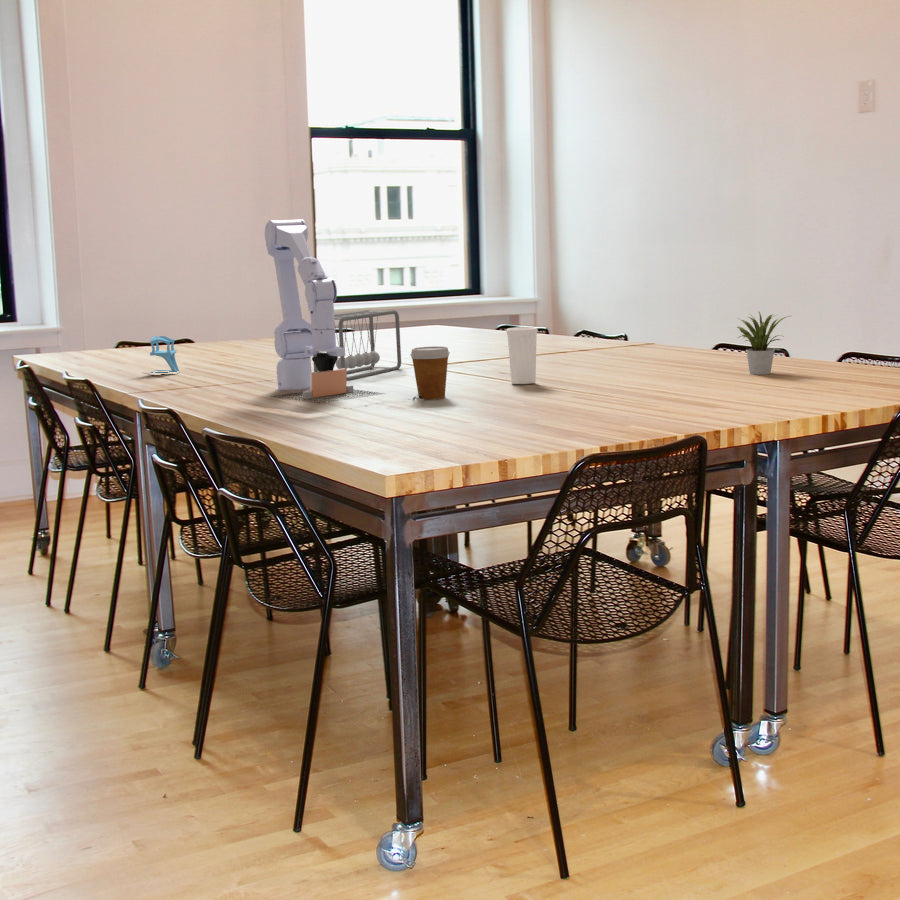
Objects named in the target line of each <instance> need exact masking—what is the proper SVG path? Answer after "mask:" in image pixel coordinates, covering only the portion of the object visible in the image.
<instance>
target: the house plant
mask: <svg viewBox="0 0 900 900" xmlns="http://www.w3.org/2000/svg"><path fill="white" fill-rule="evenodd" d="M758 314H759V322H758V321H757V320H756V318H755V317H754V316H753V315H752V314H750V313H749V315H750V316H751V317H750V316H748V318H749V319H750V321H751V323H753V325H752V324H751V323H750V322H748V321H747V320H744V319H740V318H736V319H738V320H740V321H742V322H743V324H744V325H745V326H746V327H747V328H748V330H749V331H750V332H749V331H748V330H747V329H745V328H744V327H741V326H736V328H737V329H739V331H740V333H742V334H741V335H740V336H738V337H737V339H739V338H741V337H744V338H746V339H745V340H744V342H749V343H750V345H751V348H747V349H745V352H746V358H747V364H748V372H749V375H753V376H754V375H756V376H763V375H765V376H766V375H770V374H771V371H772V366H773V363H774V362H773V361H774V356H775V348H772V347H771V348H769V347H768V346H769V345H770V343H772V342H774V341H783V340H782V339H780V338H779V339H778V338H776V337H779V336H780V337H784V338H785V336H784V335H782V334H781V335H779V334H778V335H775V336H773V337H771V334H772V332H773V331H774V329H775V328H776V326H777V325H778V324H779V323H780V322H781V321H783V320H784V319H785V318H789V317H791V315H787V316H784V317H782V318H780V317H778V318H776V319H775V320H774V321H772V323H771V325H770V327H769V329H768V326H769V324H770V322H771V320H772V318H774V317H775V316H777V314H775V315H774V314H770V315H768V316H767V317H766V319H765V321H763V320H762V314H761V312H760V311H758ZM753 326H754V327H753ZM767 329H768V331H767ZM770 338H771V339H770ZM747 339H748V340H747ZM769 339H770V340H769ZM768 341H769V342H768Z"/></svg>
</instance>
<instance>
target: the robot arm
mask: <svg viewBox="0 0 900 900" xmlns="http://www.w3.org/2000/svg"><path fill="white" fill-rule="evenodd" d="M308 237H309V229H308V224H307V223H306V221H305V220H304V219H303V218H300V219H283V220H282V219H281V220H273V219H269V220H268V221H267V222H266V224H265V229H264V240H265V245H266V246H265V247H266V250H267V254H268V255H269V256H271V257H273V261H274V262H273V263H274V266H275V272H276V281H277V285H278V292H279V293H278V294H279V299H280V306H281V313H282V319H283V320H282V321H281V322H280V323H279V324H278V325H277V326H276V328H275V329H274V333H273V334H274V348H275V349H274V350H275V352H276V354H277V355H278V357H280V359H279V360H278V362H277V364H276V375H277V376H276V377H277V379H276V380H277V388H275V389H274V391H275V392H276V391H284V390H290V391H291V390H305V389H310V377H311V373H312V362H314V363H315V365H316V367H317V369H318V372H320V371H328V370H334V369H335V367H336V361H337V359H338V358H340V356H344V357H346V347H345V348H341V347H340V346H338V345H337V342H336V339H337V336H336V329H335V326H336V322H335V320H334V315H335V308H334V303H335V302H336V300H337V296H338V288H337V285H336V282H335V280H334V279H333V278H331V277H330V276H329V275H328V276H327V275H326V273H325V271H324V268H323V267H322V264H321V263H320V261H319V260H318V259H317V258H316V257H313V256H312V253H311V250H310V248H309V245H308ZM294 259H295V260H296V261H297V263H298V264H297V267H296V266H295V261H294ZM295 269H297V272H298V274H299V276H300V279H301V281H302V282H303V284H304V287H305V288H304V296H305V300H306V303H307V310H308V311H309V312H310V313H309V314H310V323H309V322H308V321H307V320H306V319H304V318H303V313H302V308H301V301H300V295H299V288H298V282H297V274H296V270H295ZM313 354H317V356H316V357H313ZM314 363H313V364H314Z"/></svg>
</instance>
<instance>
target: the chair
mask: <svg viewBox="0 0 900 900" xmlns="http://www.w3.org/2000/svg"><path fill="white" fill-rule="evenodd" d="M175 341H176V340H175V339H173V338H169V337H167V336H164V335H162V336H156V335H154V336H152V337H150V340H149V343H150V346H151V352H149V355H150V356H156V357H161V358H163V359H164V361H166V363H167V365H168V366H169V369H157V370H156V369H155V370H153V371H151V372H149V373H153V372H155V371H169V372H177V371H179V372H180V369H179V366H178V364H177V360H176V357H175V354H177V350H176V349H175V347H174V346H175V345H174V343H175ZM159 343H165V344H166V350H160V346H159ZM155 347H156V348H155ZM170 349H171V350H170ZM155 373H168V372H155Z"/></svg>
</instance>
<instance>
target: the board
mask: <svg viewBox="0 0 900 900" xmlns="http://www.w3.org/2000/svg"><path fill="white" fill-rule="evenodd" d="M354 394H355V395H354ZM370 394H371V396H378V395H386V393H384V392H377V391H369V390H368V391H367V390H361V389H354V385H351V384H349V385H346V393H341V394H334V395H332V397H327V396H321V397H314V398H312V392H310V390H307V391H305V390H304V391H301V392H300V391H298V392H294V393H293V392H291V393H285V394H279V395H278V394H276V395H272V396H270V397H272V398H275V399H284V400H285V399H286V400H294V401H297V402H298V401H300V402H306V403H307V402H308V403H312V402H313V400H315V402H318V404H321V402H325V399H327V400H329V402H330V403H332V402H338V401H339V402H341V401H346V400H353V399H354V398H355V399H358V398H361V396H362V395H363V398H365V397H367V398H368V396H370Z"/></svg>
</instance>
